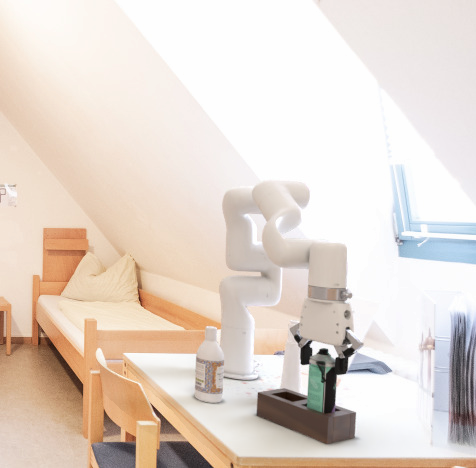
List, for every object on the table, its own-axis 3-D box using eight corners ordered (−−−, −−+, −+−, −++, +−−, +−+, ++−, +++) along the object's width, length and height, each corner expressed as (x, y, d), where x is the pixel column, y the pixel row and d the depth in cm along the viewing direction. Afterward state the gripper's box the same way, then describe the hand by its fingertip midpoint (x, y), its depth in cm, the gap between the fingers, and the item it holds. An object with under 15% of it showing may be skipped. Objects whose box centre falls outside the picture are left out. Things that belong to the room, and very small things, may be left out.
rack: (283, 410, 139) (284, 387, 139) (354, 437, 123) (356, 412, 122) (256, 415, 135) (257, 392, 135) (326, 444, 119) (328, 417, 119)
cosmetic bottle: (287, 403, 144) (291, 323, 143) (273, 395, 151) (276, 318, 149) (308, 403, 145) (312, 323, 144) (293, 395, 151) (297, 318, 150)
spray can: (336, 438, 122) (341, 352, 121) (309, 434, 124) (313, 350, 123) (329, 429, 127) (334, 347, 126) (303, 426, 129) (307, 344, 128)
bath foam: (212, 405, 142) (216, 331, 141) (189, 397, 148) (192, 326, 147) (227, 400, 146) (230, 328, 145) (203, 392, 151) (206, 323, 150)
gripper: (378, 299, 117) (373, 378, 118) (301, 288, 133) (297, 357, 134) (356, 301, 114) (351, 382, 115) (280, 289, 130) (277, 360, 131)
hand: (322, 368), depth 125 cm, fingers open, 7 cm apart
